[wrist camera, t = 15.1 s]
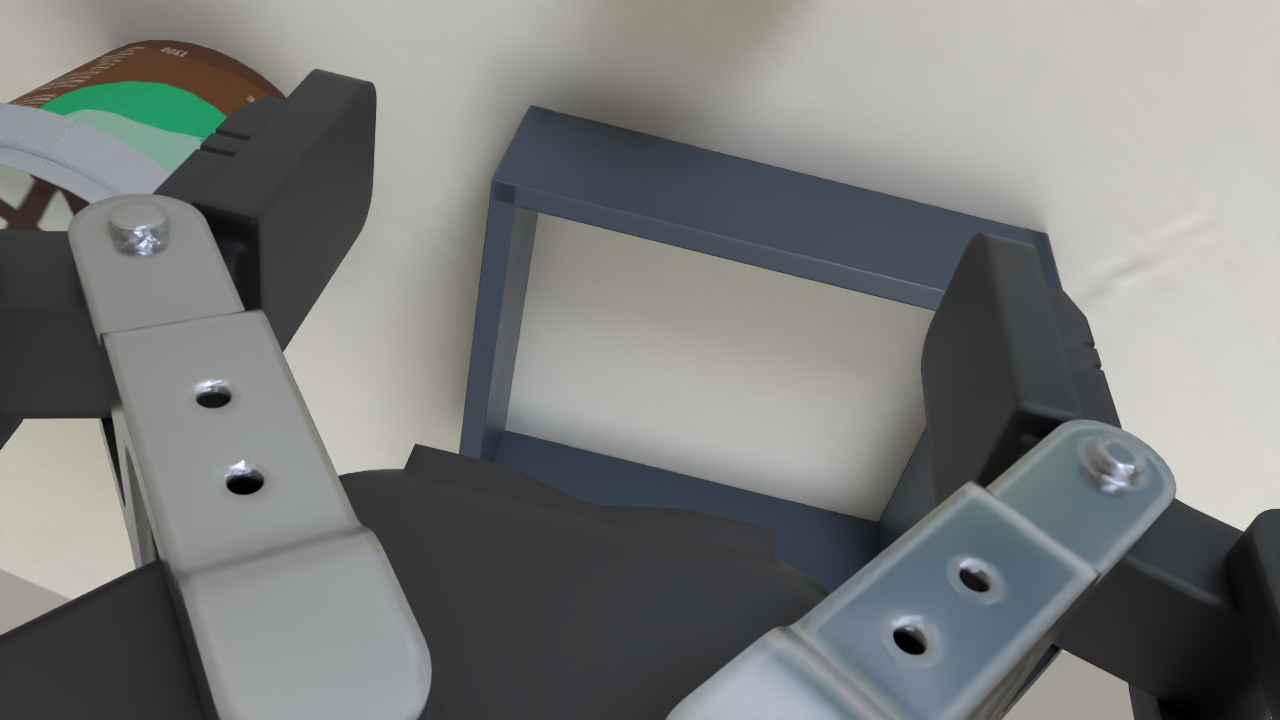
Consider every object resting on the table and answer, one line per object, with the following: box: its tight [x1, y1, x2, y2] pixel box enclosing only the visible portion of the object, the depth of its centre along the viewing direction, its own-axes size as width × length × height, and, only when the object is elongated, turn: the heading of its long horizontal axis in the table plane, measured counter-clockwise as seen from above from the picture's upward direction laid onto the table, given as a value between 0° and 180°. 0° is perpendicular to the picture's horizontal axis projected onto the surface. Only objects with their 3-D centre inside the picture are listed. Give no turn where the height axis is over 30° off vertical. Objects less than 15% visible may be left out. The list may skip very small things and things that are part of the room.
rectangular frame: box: [459, 106, 1063, 593], centre depth 39 cm, size 18×16×5 cm
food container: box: [0, 40, 286, 231], centre depth 34 cm, size 12×6×10 cm, turn 25°
